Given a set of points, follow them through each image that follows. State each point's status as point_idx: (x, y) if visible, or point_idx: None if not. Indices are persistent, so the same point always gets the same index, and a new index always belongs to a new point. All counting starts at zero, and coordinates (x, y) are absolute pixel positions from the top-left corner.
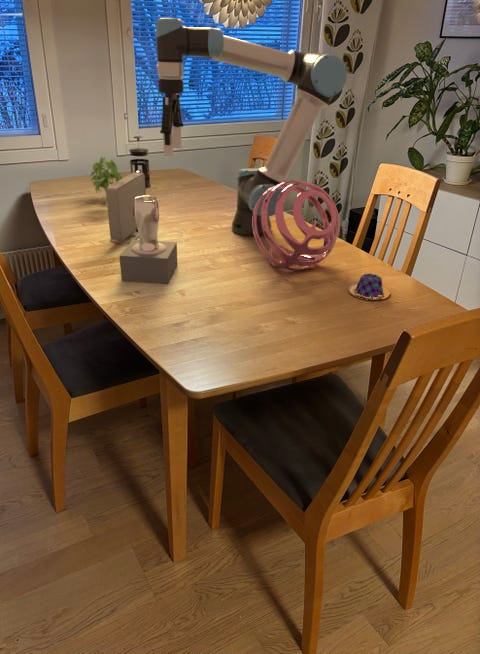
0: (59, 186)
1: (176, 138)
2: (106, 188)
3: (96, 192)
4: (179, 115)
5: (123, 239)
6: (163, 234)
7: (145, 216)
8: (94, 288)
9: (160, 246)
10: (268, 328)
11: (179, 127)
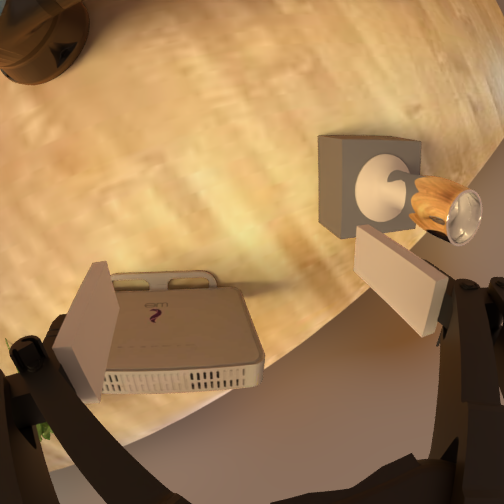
0: None
1: (101, 321)
2: None
3: None
4: (13, 440)
5: (225, 287)
6: (130, 228)
7: (460, 202)
8: (409, 241)
9: (378, 167)
10: (461, 10)
11: (75, 353)
